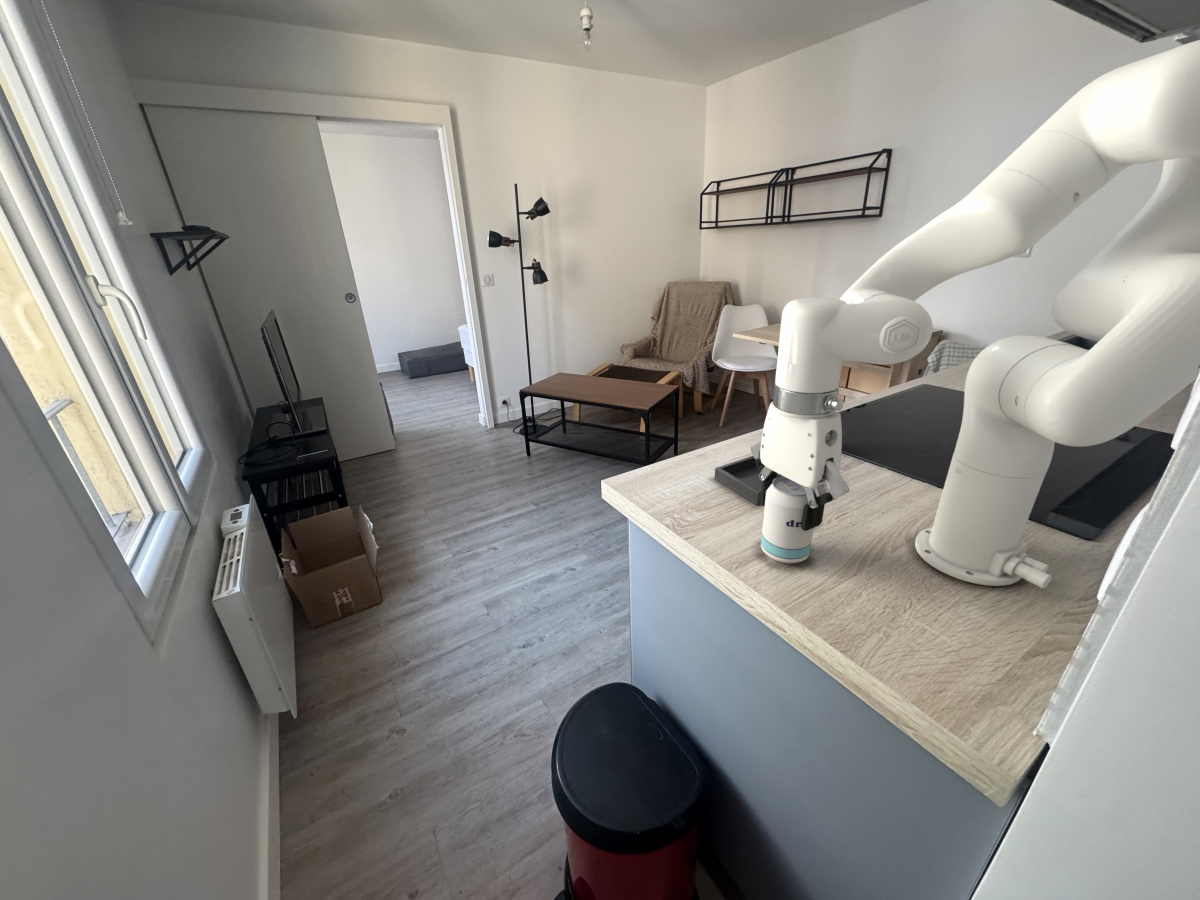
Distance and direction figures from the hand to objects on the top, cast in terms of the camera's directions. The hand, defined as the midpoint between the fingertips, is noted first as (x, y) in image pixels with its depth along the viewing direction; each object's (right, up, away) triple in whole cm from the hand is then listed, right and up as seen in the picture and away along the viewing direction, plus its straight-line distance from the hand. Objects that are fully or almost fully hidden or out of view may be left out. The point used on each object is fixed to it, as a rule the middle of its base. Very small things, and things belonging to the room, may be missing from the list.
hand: (789, 513), depth 68 cm
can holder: (+3, +3, +22) cm, 23 cm away
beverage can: (0, -7, +3) cm, 7 cm away
